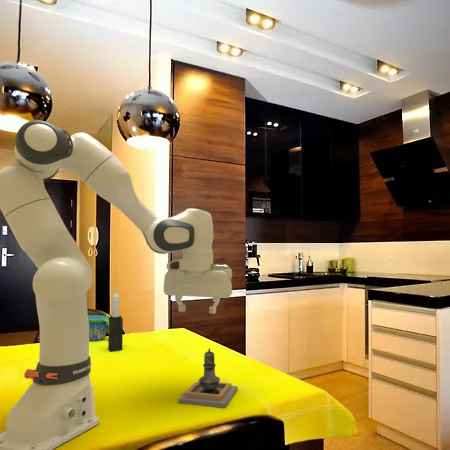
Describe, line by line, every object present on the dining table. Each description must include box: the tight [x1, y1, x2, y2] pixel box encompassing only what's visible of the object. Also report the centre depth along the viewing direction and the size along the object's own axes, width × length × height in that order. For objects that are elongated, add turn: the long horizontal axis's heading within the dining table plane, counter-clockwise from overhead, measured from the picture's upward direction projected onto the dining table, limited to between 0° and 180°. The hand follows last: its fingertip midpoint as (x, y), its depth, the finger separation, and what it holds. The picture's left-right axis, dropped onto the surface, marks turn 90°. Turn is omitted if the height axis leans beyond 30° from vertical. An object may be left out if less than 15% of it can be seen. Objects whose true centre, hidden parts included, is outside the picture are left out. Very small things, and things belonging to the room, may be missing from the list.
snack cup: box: [88, 315, 110, 342], centre depth 172 cm, size 16×10×10 cm
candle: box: [107, 288, 124, 353], centre depth 154 cm, size 5×5×25 cm
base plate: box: [177, 379, 239, 409], centre depth 103 cm, size 13×13×2 cm
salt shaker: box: [198, 348, 221, 394], centre depth 104 cm, size 6×6×12 cm
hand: (197, 312), depth 108 cm, fingers open, 8 cm apart
